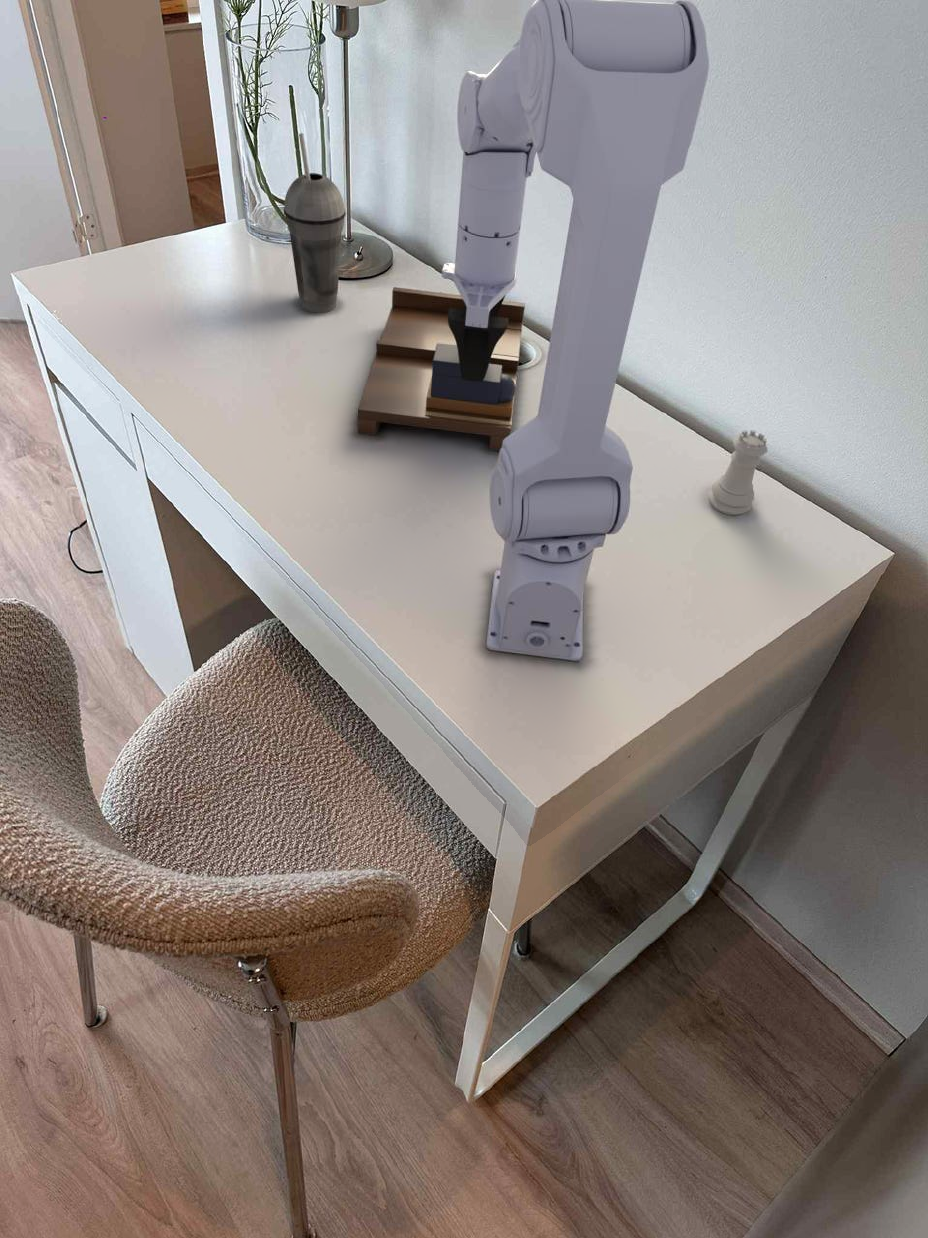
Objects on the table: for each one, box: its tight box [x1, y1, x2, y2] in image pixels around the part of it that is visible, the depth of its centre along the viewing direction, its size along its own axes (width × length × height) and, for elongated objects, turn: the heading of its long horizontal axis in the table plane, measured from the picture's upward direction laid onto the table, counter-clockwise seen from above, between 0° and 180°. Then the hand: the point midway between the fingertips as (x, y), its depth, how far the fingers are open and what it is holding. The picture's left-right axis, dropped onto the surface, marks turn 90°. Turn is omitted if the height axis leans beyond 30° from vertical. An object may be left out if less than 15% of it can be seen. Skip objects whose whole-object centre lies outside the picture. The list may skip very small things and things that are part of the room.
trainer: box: [426, 343, 517, 418], centre depth 92 cm, size 9×4×5 cm, turn 84°
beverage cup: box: [283, 132, 347, 314], centre depth 105 cm, size 7×7×20 cm
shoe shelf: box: [356, 286, 526, 452], centre depth 100 cm, size 24×16×5 cm, turn 174°
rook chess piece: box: [708, 429, 768, 516], centre depth 88 cm, size 4×4×8 cm
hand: (476, 359), depth 90 cm, fingers open, 7 cm apart
